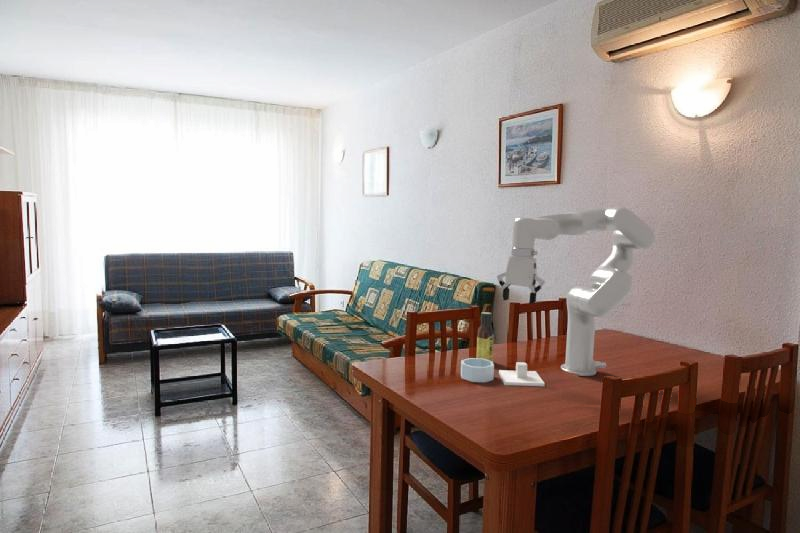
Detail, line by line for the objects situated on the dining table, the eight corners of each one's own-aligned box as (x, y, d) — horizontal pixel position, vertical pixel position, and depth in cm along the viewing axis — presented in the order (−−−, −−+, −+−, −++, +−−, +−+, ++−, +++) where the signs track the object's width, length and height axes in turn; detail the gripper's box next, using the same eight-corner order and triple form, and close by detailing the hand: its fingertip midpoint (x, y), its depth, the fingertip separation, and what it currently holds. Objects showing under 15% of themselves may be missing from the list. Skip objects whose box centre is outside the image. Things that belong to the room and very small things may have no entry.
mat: (535, 375, 189) (536, 373, 189) (545, 389, 175) (545, 386, 175) (497, 374, 189) (497, 372, 189) (504, 387, 175) (504, 385, 175)
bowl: (490, 375, 189) (490, 358, 188) (494, 385, 178) (495, 367, 177) (459, 374, 189) (460, 357, 188) (462, 384, 178) (463, 366, 178)
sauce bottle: (492, 367, 198) (494, 315, 195) (475, 366, 199) (477, 314, 197) (492, 362, 204) (495, 311, 202) (476, 361, 205) (478, 310, 203)
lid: (535, 373, 188) (536, 358, 188) (544, 386, 176) (545, 370, 175) (498, 372, 189) (499, 357, 188) (505, 384, 176) (505, 368, 175)
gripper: (550, 255, 182) (546, 304, 183) (504, 250, 192) (500, 297, 193) (542, 256, 176) (538, 306, 177) (495, 251, 186) (491, 299, 187)
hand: (518, 301), depth 185 cm, fingers open, 9 cm apart
